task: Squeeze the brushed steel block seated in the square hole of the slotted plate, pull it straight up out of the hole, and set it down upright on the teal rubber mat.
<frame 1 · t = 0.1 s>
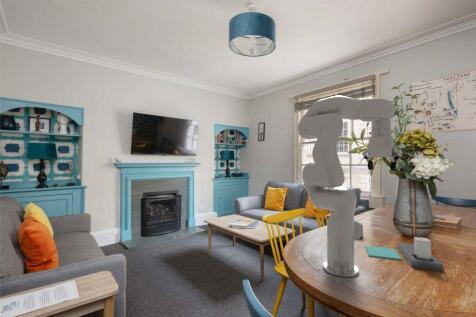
hand: (381, 170, 110), 37 cm above the table, tool pointing down, fingers open, 9 cm apart
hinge: (346, 235, 135), on the table
slotted plate: (417, 258, 102), on the table
steel block: (422, 263, 97), resting in slotted plate
mat: (381, 253, 108), on the table
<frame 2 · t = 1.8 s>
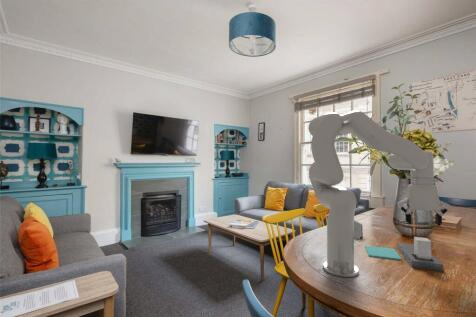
hand: (423, 224, 97), 16 cm above the table, tool pointing down, fingers open, 9 cm apart
nothing on the table moved.
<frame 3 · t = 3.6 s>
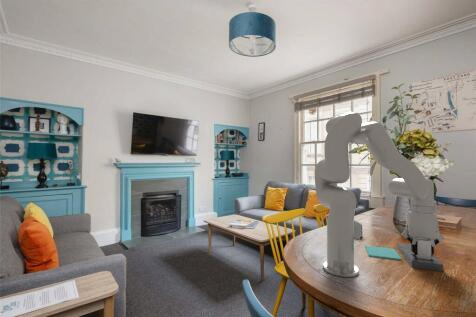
hand: (422, 254, 97), 4 cm above the table, tool pointing down, fingers closed on steel block, 4 cm apart
steel block: (422, 263, 97), resting in slotted plate, touching gripper
everything else where it was.
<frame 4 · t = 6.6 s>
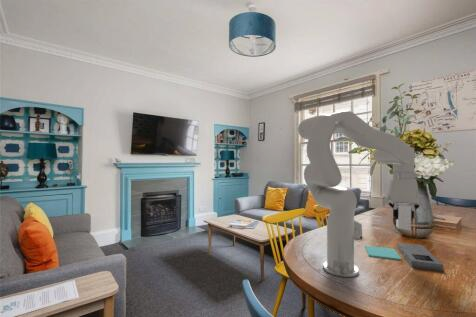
hand: (403, 218, 101), 17 cm above the table, tool pointing down, fingers closed on steel block, 4 cm apart
steel block: (403, 228, 101), point 13 cm above the table, touching gripper
everything else where it was.
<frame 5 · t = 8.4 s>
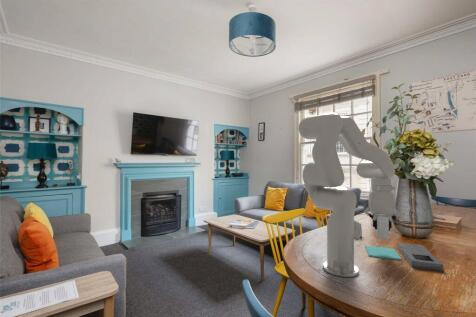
hand: (382, 228, 108), 11 cm above the table, tool pointing down, fingers closed on steel block, 4 cm apart
steel block: (382, 237, 108), point 7 cm above the table, touching gripper
everything else where it was.
when the fingers open (6 cm above the table, at t = 9.6 s): steel block drops 1 cm, resting on mat.
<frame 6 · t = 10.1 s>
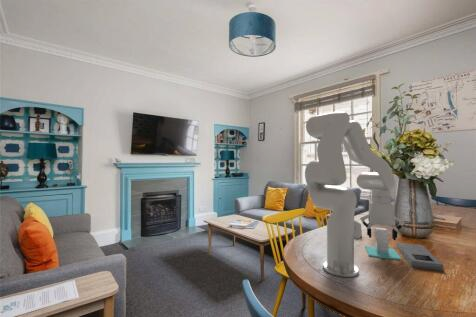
hand: (381, 238, 108), 7 cm above the table, tool pointing down, fingers open, 9 cm apart
steel block: (381, 251, 108), point 1 cm above the table, touching mat
everything else where it was.
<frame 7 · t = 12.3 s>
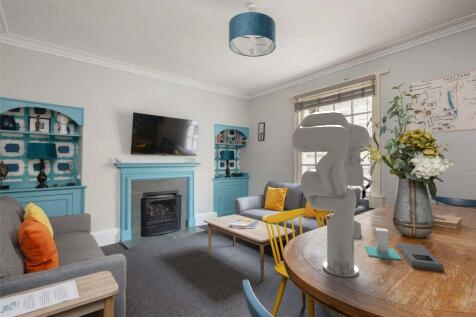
hand: (351, 198, 111), 24 cm above the table, tool pointing down, fingers open, 9 cm apart
nothing on the table moved.
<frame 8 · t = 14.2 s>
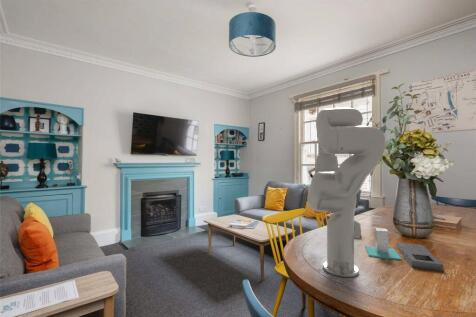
hand: (326, 188, 114), 28 cm above the table, tool pointing down, fingers open, 9 cm apart
at the end: steel block inside the target area on the mat (0.1 cm from its centre), point 0.6 cm above the mat's base; steel block tilted 0°; the gripper is holding nothing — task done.
